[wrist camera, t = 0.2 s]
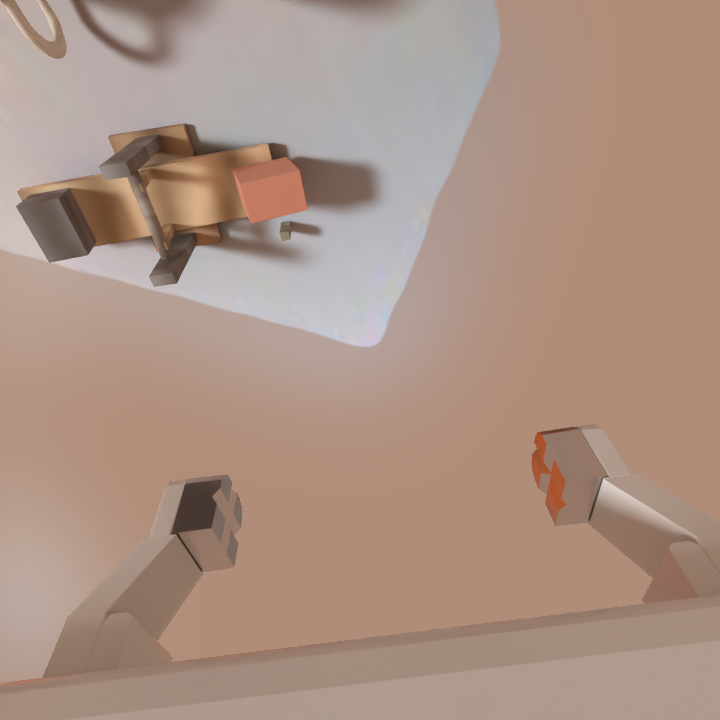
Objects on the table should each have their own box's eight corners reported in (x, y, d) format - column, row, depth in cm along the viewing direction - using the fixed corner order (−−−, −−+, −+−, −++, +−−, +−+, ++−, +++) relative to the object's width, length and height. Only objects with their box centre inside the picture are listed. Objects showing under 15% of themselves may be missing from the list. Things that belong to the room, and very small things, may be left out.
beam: (61, 257, 54) (40, 284, 48) (16, 179, 48) (-12, 200, 43) (284, 213, 55) (288, 235, 50) (265, 133, 50) (267, 148, 45)
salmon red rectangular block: (242, 206, 52) (251, 223, 47) (232, 169, 50) (240, 184, 45) (294, 193, 53) (307, 209, 49) (286, 156, 51) (299, 170, 46)
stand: (159, 248, 57) (129, 294, 48) (110, 135, 49) (64, 165, 40) (291, 229, 57) (285, 271, 48) (264, 111, 49) (251, 136, 40)
